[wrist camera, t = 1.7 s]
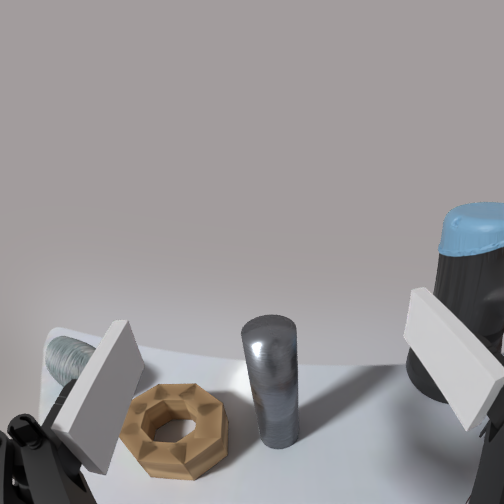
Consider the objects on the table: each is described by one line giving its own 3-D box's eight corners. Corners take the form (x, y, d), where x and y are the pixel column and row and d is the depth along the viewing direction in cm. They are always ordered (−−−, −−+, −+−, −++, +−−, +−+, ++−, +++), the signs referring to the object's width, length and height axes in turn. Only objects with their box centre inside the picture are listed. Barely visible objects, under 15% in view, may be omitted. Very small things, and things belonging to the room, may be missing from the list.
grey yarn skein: (33, 371, 35) (36, 320, 35) (76, 365, 44) (83, 318, 43) (75, 427, 30) (79, 372, 29) (122, 411, 38) (132, 361, 38)
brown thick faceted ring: (229, 402, 35) (224, 381, 34) (227, 480, 24) (219, 465, 22) (143, 402, 35) (133, 383, 34) (123, 473, 24) (108, 456, 22)
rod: (295, 417, 31) (292, 311, 25) (300, 446, 27) (300, 344, 21) (259, 421, 31) (241, 317, 25) (261, 451, 27) (241, 351, 21)
